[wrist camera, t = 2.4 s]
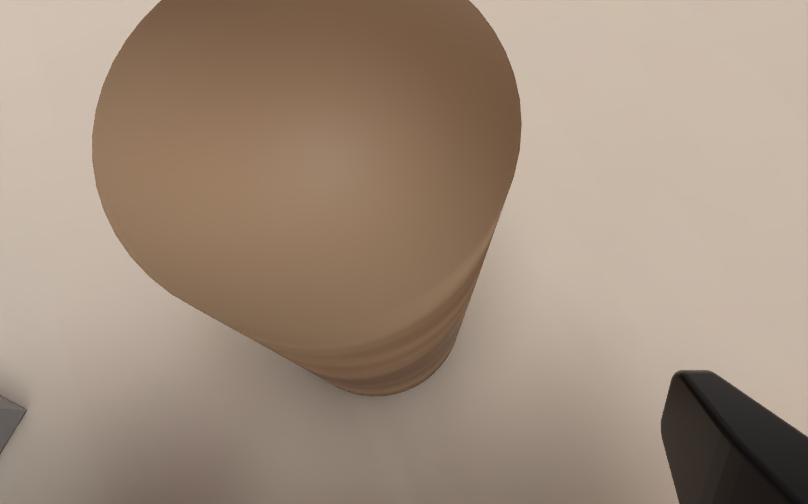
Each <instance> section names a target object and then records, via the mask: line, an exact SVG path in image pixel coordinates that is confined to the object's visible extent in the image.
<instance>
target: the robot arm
mask: <svg viewBox="0 0 808 504" xmlns="http://www.w3.org/2000/svg"><path fill="white" fill-rule="evenodd" d="M661 434H662V440H663V444H664V447H665V451H666V455H667V459H668V462H669V466H670V470H671V474H672V478H673V481H674V485H675V489H676V493H677V496H678V500H679V504H808V437H807V436H806V435H804V434H803V433H801V432H800V431H798V430H797V429H796V428H794V427H793V426H791V425H790V424H788V423H787V422H785V421H784V420H782V419H781V418H780V417H778V416H777V415H775V414H774V413H772V412H771V411H769V410H768V409H766V408H765V407H763V406H762V405H761V404H759V403H758V402H756V401H755V400H753V399H752V398H750V397H749V396H747V395H746V394H745V393H743V392H742V391H740V390H739V389H737V388H736V387H734V386H733V385H731V384H730V383H729V382H727V381H726V380H724V379H723V378H721V377H720V376H718V375H717V374H715V373H713V372H711V371H707V370H680V371H678V372H676V373H675V374H674V375H673V377H672V380H671V383H670V387H669V391H668V395H667V399H666V403H665V407H664V411H663V415H662V419H661Z"/></svg>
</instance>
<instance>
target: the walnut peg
mask: <svg viewBox="0 0 808 504" xmlns="http://www.w3.org/2000/svg"><path fill="white" fill-rule="evenodd" d="M521 125H522V124H521V110H520V98H519V94H518V89H517V85H516V80H515V76H514V73H513V70H512V67H511V65H510V62H509V59H508V57H507V54H506V52H505V50H504V48H503V46H502V44H501V42H500V41H499V39H498V37H497V35H496V33H495V32H494V30H493V29H492V27H491V26H490V25H489V23H488V22H487V21H486V19H485V18H484V17H483V15H482V14H481V13H480V11H479V10H478V9H477V8H476V7H475V6H474V5H473V4H472V3H471V2H470V1H469V0H161V1H160V2H159V3H158V4H157V5H156V6H155V7H154V8H153V9H152V10H151V11H150V12H149V13H148V14H147V15H146V16H145V17H144V18H143V19H142V20H141V22H140V23H139V24H138V26H137V27H136V28H135V29H134V31H133V32H132V33H131V35H130V36H129V37H128V38H127V40H126V41H125V43H124V45H123V46H122V48H121V50H120V51H119V53H118V55H117V56H116V58H115V60H114V61H113V63H112V66H111V68H110V70H109V73H108V75H107V77H106V80H105V82H104V84H103V87H102V90H101V94H100V97H99V101H98V104H97V108H96V113H95V120H94V127H93V134H92V161H93V167H94V174H95V180H96V187H97V190H98V193H99V196H100V199H101V203H102V206H103V209H104V212H105V214H106V216H107V218H108V220H109V222H110V224H111V226H112V228H113V230H114V232H115V235H116V236H117V237H118V239H119V240H120V242H121V243H122V245H123V246H124V248H125V249H126V251H127V252H128V253H129V255H130V256H131V257H132V259H133V260H134V261H135V262H136V263H137V264H138V265H139V266H140V267H141V268H142V269H143V270H144V271H145V272H146V274H147V275H148V276H149V277H151V278H152V279H153V280H154V281H156V282H157V283H158V284H159V285H161V286H162V287H163V288H164V289H166V290H167V291H168V292H169V293H171V294H172V295H174V296H176V297H177V298H179V299H181V300H182V301H184V302H186V303H188V304H189V305H191V306H193V307H194V308H196V309H198V310H200V311H202V312H203V313H205V314H207V315H209V316H211V317H212V318H214V319H216V320H218V321H220V322H222V323H223V324H225V325H227V326H229V327H231V328H232V329H234V330H236V331H238V332H240V333H241V334H243V335H245V336H247V337H249V338H250V339H252V340H254V341H256V342H258V343H260V344H261V345H263V346H265V347H267V348H269V349H270V350H272V351H274V352H276V353H278V354H279V355H281V356H283V357H285V358H287V359H288V360H290V361H292V362H294V363H296V364H298V365H299V366H301V367H303V368H305V369H307V370H308V371H310V372H312V373H314V374H316V375H317V376H319V377H321V378H323V379H325V380H326V381H328V382H330V383H332V384H334V385H335V386H337V387H339V388H341V389H344V390H346V391H349V392H352V393H356V394H360V395H367V396H385V395H392V394H396V393H400V392H403V391H406V390H408V389H411V388H413V387H415V386H417V385H418V384H420V383H422V382H423V381H425V380H426V379H427V378H429V377H430V376H431V375H432V374H434V373H435V371H436V370H437V369H438V368H439V367H440V366H441V365H442V364H443V362H444V361H445V359H446V358H447V357H448V355H449V353H450V351H451V349H452V348H453V345H454V343H455V340H456V337H457V334H458V332H459V329H460V326H461V323H462V320H463V318H464V315H465V312H466V309H467V306H468V304H469V301H470V298H471V295H472V292H473V290H474V287H475V284H476V281H477V278H478V276H479V273H480V270H481V267H482V264H483V261H484V259H485V256H486V253H487V250H488V247H489V245H490V242H491V239H492V236H493V233H494V231H495V228H496V225H497V222H498V219H499V217H500V214H501V211H502V208H503V205H504V203H505V200H506V197H507V194H508V191H509V189H510V186H511V183H512V180H513V177H514V173H515V169H516V164H517V160H518V155H519V151H520V138H521Z"/></svg>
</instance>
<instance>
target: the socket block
mask: <svg viewBox="0 0 808 504" xmlns="http://www.w3.org/2000/svg"><path fill="white" fill-rule="evenodd" d="M25 412H26V409H24V408H22V407H20V406H18V405H17V404H15V403H13V402H11V401H9V400H7V399H6V398H4V397H2V396H0V452H1V451H2V449H3V447H4V446H5V444H6V443H7V441H8V439H9V438H10V436H11V434H12V433H13V431H14V430H15V428H16V426H17V425H18V423H19V421H20V420H21V418H22V417H23V415H24V413H25Z"/></svg>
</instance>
